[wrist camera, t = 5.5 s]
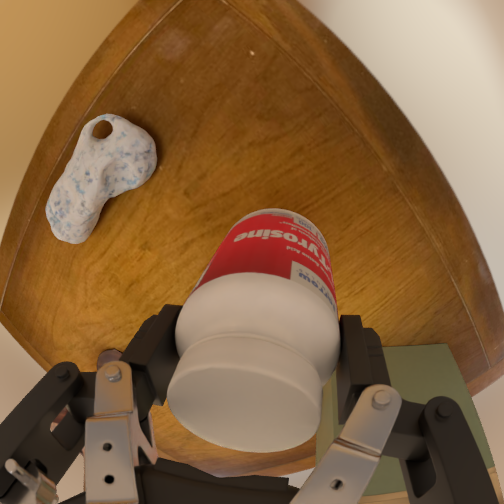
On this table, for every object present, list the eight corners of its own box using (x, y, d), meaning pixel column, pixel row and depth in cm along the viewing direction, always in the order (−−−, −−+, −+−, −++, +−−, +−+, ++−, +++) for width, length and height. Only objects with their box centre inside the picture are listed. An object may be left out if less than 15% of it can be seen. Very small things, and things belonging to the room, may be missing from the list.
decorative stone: (103, 254, 28) (74, 278, 23) (60, 211, 27) (27, 229, 22) (176, 148, 23) (147, 157, 18) (120, 100, 21) (84, 101, 17)
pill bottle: (347, 233, 17) (393, 392, 7) (300, 313, 19) (288, 474, 9) (245, 187, 16) (159, 305, 6) (210, 276, 19) (134, 421, 9)
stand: (446, 342, 27) (495, 465, 12) (415, 407, 32) (436, 511, 17) (328, 347, 29) (333, 498, 14) (316, 412, 34) (312, 528, 19)
